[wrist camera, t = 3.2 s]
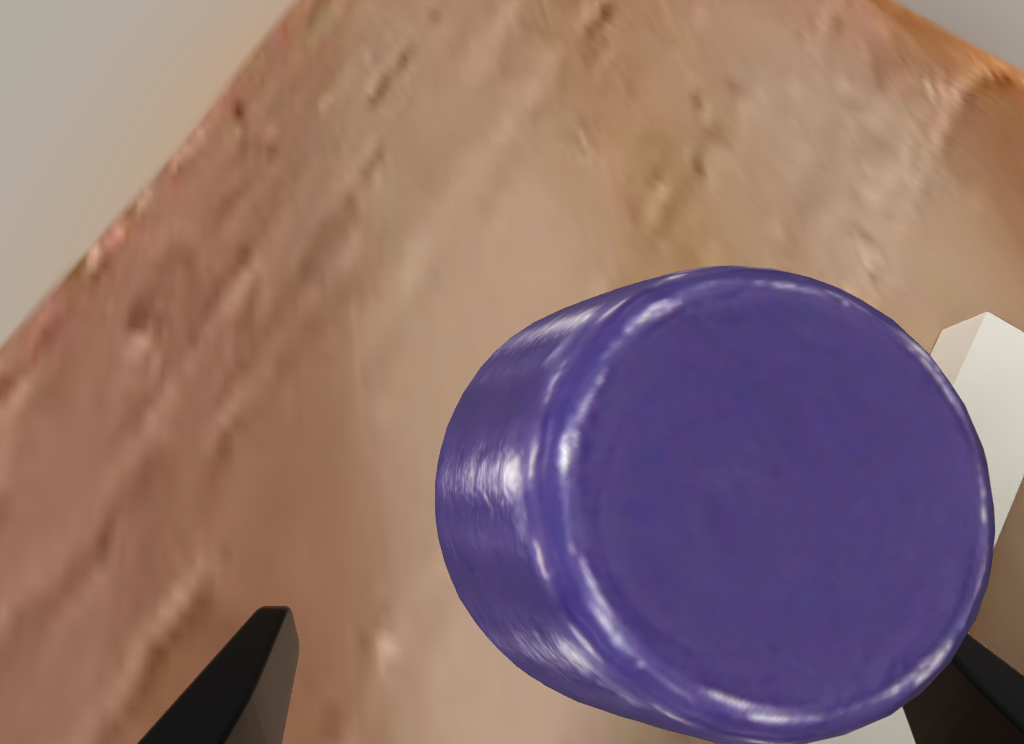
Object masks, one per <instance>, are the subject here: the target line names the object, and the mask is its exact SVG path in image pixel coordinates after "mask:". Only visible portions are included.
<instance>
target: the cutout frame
mask: <svg viewBox="0 0 1024 744" xmlns="http://www.w3.org/2000/svg"><path fill="white" fill-rule="evenodd" d="M930 356H931V357H932V358H933V360H934V361H935V362H936V364H937V365H938V366H939V368H940V369H941V370H942V372H943V373H944V374H945V376H946V377H947V379H948V380H949V381H950V383H951V384H952V386H953V387H954V389H955V390H956V392H957V394H958V395H959V397H960V398H961V400H962V401H963V403H964V404H965V406H966V408H967V411H968V413H969V415H970V418H971V420H972V422H973V425H974V427H975V429H976V432H977V434H978V436H979V439H980V441H981V443H982V446H983V448H984V452H985V456H986V460H987V464H988V471H989V477H990V484H991V491H992V497H993V504H994V515H995V540H994V547H995V544H996V542H997V539H998V537H999V534H1000V532H1001V530H1002V527H1003V525H1004V522H1005V520H1006V518H1007V515H1008V513H1009V510H1010V508H1011V505H1012V503H1013V501H1014V498H1015V496H1016V493H1017V491H1018V488H1019V486H1020V484H1021V481H1022V479H1023V476H1024V332H1022V331H1020V330H1018V329H1017V328H1015V327H1013V326H1011V325H1010V324H1008V323H1006V322H1004V321H1003V320H1001V319H999V318H998V317H996V316H994V315H992V314H991V313H989V312H985V313H982V314H980V315H977V316H975V317H973V318H970V319H968V320H965V321H963V322H960V323H958V324H956V325H953V326H951V327H948V328H946V329H943V330H942V332H941V334H940V336H939V338H938V340H937V342H936V344H935V346H934V349H933V351H932V353H931V355H930ZM993 549H994V548H993ZM808 744H915V741H914V738H913V735H912V732H911V730H910V727H909V724H908V721H907V719H906V716H905V713H904V710H903V708H902V707H901V708H900V709H898V710H897V711H896V712H894V713H893V714H892V715H890V716H888V717H885V718H883V719H881V720H879V721H876V722H874V723H872V724H869V725H867V726H865V727H862V728H860V729H858V730H855V731H853V732H851V733H848V734H846V735H842V736H838V737H834V738H829V739H825V740H821V741H816V742H812V743H808Z"/></svg>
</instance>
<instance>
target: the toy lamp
mask: <svg viewBox="0 0 1024 744" xmlns="http://www.w3.org/2000/svg"><path fill="white" fill-rule="evenodd" d="M435 514H436V525H437V531H438V538H439V542H440V546H441V550H442V554H443V557H444V561H445V564H446V567H447V569H448V572H449V575H450V577H451V580H452V582H453V584H454V586H455V589H456V591H457V593H458V595H459V598H460V600H461V601H462V603H463V604H464V606H465V607H466V609H467V610H468V612H469V613H470V615H471V616H472V618H473V619H474V621H475V622H476V624H477V625H478V626H479V627H480V629H481V630H482V631H483V632H484V634H485V635H486V636H487V637H488V638H489V639H490V640H491V642H492V643H493V644H494V645H495V646H496V647H497V648H498V649H499V650H500V651H501V652H502V653H503V654H504V655H505V656H506V657H507V658H508V659H510V660H511V661H512V662H513V663H514V664H515V665H516V666H517V667H519V668H520V669H521V670H523V671H524V672H525V673H527V674H528V675H530V676H531V677H533V678H534V679H536V680H538V681H539V682H541V683H542V684H544V685H545V686H547V687H549V688H551V689H553V690H555V691H557V692H559V693H561V694H563V695H565V696H567V697H569V698H571V699H573V700H575V701H577V702H580V703H583V704H586V705H589V706H592V707H595V708H598V709H601V710H604V711H606V712H609V713H612V714H615V715H618V716H621V717H624V718H628V719H632V720H636V721H639V722H642V723H645V724H649V725H652V726H655V727H658V728H662V729H665V730H669V731H672V732H677V733H681V734H685V735H689V736H693V737H696V738H700V739H704V740H707V741H711V742H716V743H726V744H808V743H812V742H816V741H821V740H825V739H829V738H834V737H838V736H842V735H846V734H848V733H851V732H853V731H855V730H858V729H860V728H862V727H865V726H867V725H869V724H872V723H874V722H876V721H879V720H881V719H883V718H885V717H888V716H890V715H892V714H893V713H894V712H896V711H897V710H898V709H900V708H901V707H903V706H904V705H905V704H907V703H908V702H909V701H911V700H912V699H913V698H915V697H916V696H917V695H919V694H920V693H921V692H922V691H923V690H924V689H925V688H926V687H927V686H928V685H929V684H930V683H931V682H932V681H933V680H934V679H935V678H936V677H937V676H938V675H939V674H940V672H941V671H942V670H943V669H944V668H945V667H946V666H947V665H948V664H949V663H950V662H951V660H952V659H953V657H954V655H955V653H956V652H957V650H958V648H959V647H960V645H961V643H962V641H963V640H964V638H965V636H966V635H967V633H968V631H969V629H970V628H971V626H972V624H973V623H974V621H975V619H976V616H977V614H978V611H979V608H980V605H981V602H982V599H983V596H984V594H985V591H986V588H987V585H988V582H989V576H990V570H991V564H992V557H993V548H994V540H995V515H994V504H993V497H992V491H991V484H990V477H989V471H988V464H987V460H986V456H985V452H984V448H983V446H982V443H981V441H980V439H979V436H978V434H977V432H976V429H975V427H974V425H973V422H972V420H971V418H970V415H969V413H968V411H967V408H966V406H965V404H964V403H963V401H962V400H961V398H960V397H959V395H958V394H957V392H956V390H955V389H954V387H953V386H952V384H951V383H950V381H949V380H948V379H947V377H946V376H945V374H944V373H943V372H942V370H941V369H940V368H939V366H938V365H937V364H936V362H935V361H934V360H933V358H932V357H931V356H930V354H929V353H928V352H927V351H925V350H924V349H923V348H922V347H921V346H920V345H919V344H918V343H917V342H916V341H915V340H914V339H913V338H912V337H911V336H909V335H908V334H907V333H906V332H905V331H904V330H903V329H902V328H901V327H900V326H899V325H898V324H897V323H896V322H894V321H893V320H892V319H891V318H889V317H888V316H886V315H885V314H883V313H881V312H880V311H878V310H877V309H875V308H873V307H872V306H870V305H869V304H867V303H866V302H864V301H862V300H861V299H859V298H857V297H855V296H853V295H851V294H849V293H847V292H845V291H843V290H841V289H839V288H837V287H835V286H833V285H830V284H827V283H824V282H821V281H818V280H815V279H812V278H809V277H806V276H801V275H797V274H793V273H789V272H784V271H780V270H776V269H771V268H758V267H745V266H732V265H731V266H712V267H703V268H697V269H691V270H685V271H679V272H675V273H671V274H667V275H664V276H660V277H656V278H653V279H649V280H645V281H641V282H638V283H634V284H631V285H628V286H625V287H622V288H618V289H615V290H613V291H611V292H607V293H604V294H601V295H598V296H595V297H593V298H590V299H587V300H584V301H582V302H579V303H577V304H574V305H572V306H569V307H566V308H564V309H561V310H559V311H557V312H555V313H553V314H551V315H548V316H546V317H544V318H542V319H540V320H538V321H536V322H534V323H533V324H531V325H529V326H528V327H526V328H525V329H523V330H522V331H520V332H519V333H517V334H516V335H514V336H513V337H511V338H510V339H509V340H508V341H507V342H505V343H504V344H503V345H502V346H501V347H500V348H499V349H498V350H496V351H495V352H494V354H493V355H492V356H491V357H490V358H489V359H488V360H487V361H486V362H485V363H484V364H483V366H482V367H481V368H480V369H479V371H478V372H477V374H476V375H475V377H474V378H473V380H472V381H471V382H470V384H469V385H468V387H467V388H466V390H465V391H464V393H463V395H462V397H461V399H460V401H459V403H458V405H457V406H456V408H455V410H454V413H453V415H452V417H451V420H450V422H449V424H448V426H447V429H446V433H445V436H444V440H443V444H442V447H441V451H440V455H439V460H438V466H437V474H436V481H435Z"/></svg>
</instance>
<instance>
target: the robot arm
mask: <svg viewBox="0 0 1024 744" xmlns="http://www.w3.org/2000/svg"><path fill="white" fill-rule="evenodd" d="M298 656H299V639H298V635H297V631H296V626H295V622H294V618H293V613H292V611H291V609H290V608H289V607H287V606H264V607H261V608H259V609H258V610H257V611H256V612H255V613H254V614H253V615H252V616H251V617H250V618H249V619H248V620H247V622H246V623H245V624H244V625H243V626H242V627H241V628H240V629H239V630H238V632H237V633H236V634H235V635H234V636H233V637H232V638H231V639H230V641H229V642H228V643H227V644H226V645H225V646H224V647H223V648H222V649H221V651H220V652H219V653H218V654H217V655H216V656H215V657H214V658H213V659H212V661H211V662H210V663H209V664H208V665H207V666H206V667H205V668H204V670H203V671H202V672H201V673H200V674H199V675H198V676H197V677H196V678H195V680H194V681H193V682H192V683H191V684H190V685H189V686H188V687H187V689H186V690H185V691H184V692H183V693H182V694H181V695H180V696H179V697H178V699H177V700H176V701H175V702H174V703H173V704H172V705H171V706H170V708H169V709H168V710H167V711H166V712H165V713H164V714H163V715H162V716H161V718H160V719H159V720H158V721H157V722H156V723H155V724H154V725H153V726H152V728H151V729H150V730H149V731H148V732H147V733H146V734H145V735H144V737H143V738H142V739H141V740H140V741H139V742H138V743H137V744H282V739H283V734H284V729H285V724H286V719H287V713H288V708H289V703H290V698H291V693H292V687H293V682H294V677H295V672H296V667H297V661H298ZM902 708H903V710H904V713H905V716H906V719H907V721H908V724H909V727H910V730H911V732H912V735H913V738H914V741H915V744H1024V676H1023V675H1022V674H1020V673H1019V672H1018V671H1016V670H1015V669H1014V668H1012V667H1011V666H1010V665H1008V664H1007V663H1006V662H1004V661H1003V660H1002V659H1000V658H999V657H998V656H997V655H995V654H994V653H993V652H991V651H990V650H989V649H987V648H986V647H985V646H983V645H982V644H981V643H979V642H978V641H977V640H975V639H974V638H973V637H971V636H970V635H969V634H967V635H966V636H965V638H964V640H963V641H962V643H961V645H960V647H959V648H958V650H957V652H956V653H955V655H954V657H953V659H952V660H951V662H950V663H949V664H948V665H947V666H946V667H945V668H944V669H943V670H942V671H941V672H940V674H939V675H938V676H937V677H936V678H935V679H934V680H933V681H932V682H931V683H930V684H929V685H928V686H927V687H926V688H925V689H924V690H923V691H922V692H921V693H920V694H919V695H917V696H916V697H915V698H913V699H912V700H911V701H909V702H908V703H907V704H905V705H904V706H903V707H902Z"/></svg>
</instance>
